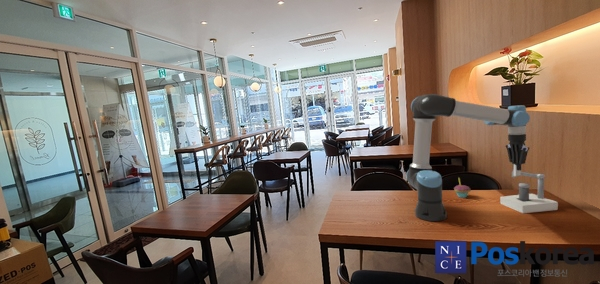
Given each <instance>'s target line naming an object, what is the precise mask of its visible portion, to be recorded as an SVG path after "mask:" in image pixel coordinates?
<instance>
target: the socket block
mask: <svg viewBox="0 0 600 284" xmlns="http://www.w3.org/2000/svg"><path fill="white" fill-rule="evenodd" d="M544 193H545V179H539V178H537V194H535V193H529V201H526V202H523V201H520V200H519V194H516V195H514V194H513V195H506V196H499V197H500V203H499V204H501V205H502V206H505V207H507V208H510V209H512V210H515V211H517V212H519V213H521V214H528V213H538V212H540V213H541V212H548V211H557V210H558V207H559V203H558V201H555V200H553V199H549V198H547V197H545V196H544Z"/></svg>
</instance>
